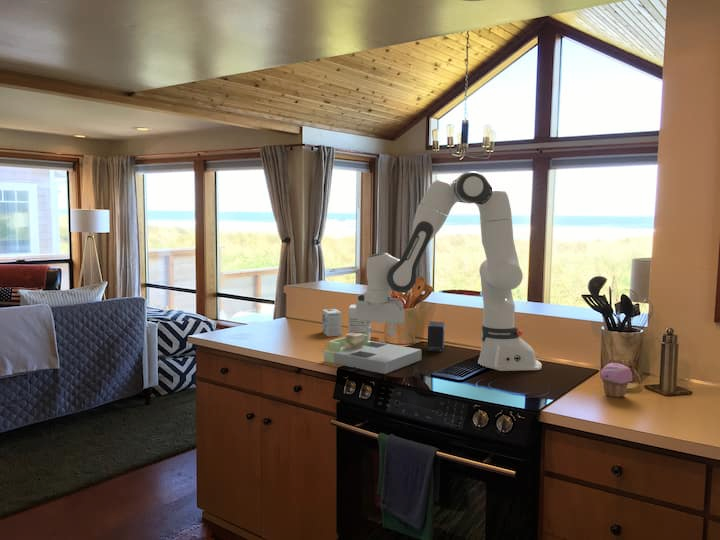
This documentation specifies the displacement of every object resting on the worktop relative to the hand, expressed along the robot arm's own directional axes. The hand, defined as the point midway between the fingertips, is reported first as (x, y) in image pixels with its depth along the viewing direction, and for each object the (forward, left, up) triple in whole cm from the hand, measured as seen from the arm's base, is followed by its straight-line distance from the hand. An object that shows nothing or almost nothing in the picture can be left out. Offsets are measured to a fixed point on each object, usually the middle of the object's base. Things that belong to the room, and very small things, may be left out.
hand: (380, 333), depth 213 cm
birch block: (+10, -5, -7) cm, 13 cm away
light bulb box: (+26, -47, -11) cm, 55 cm away
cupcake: (-74, +32, -11) cm, 81 cm away
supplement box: (+12, -36, -11) cm, 40 cm away
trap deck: (+3, -1, -11) cm, 11 cm away
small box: (-21, -23, -11) cm, 33 cm away
